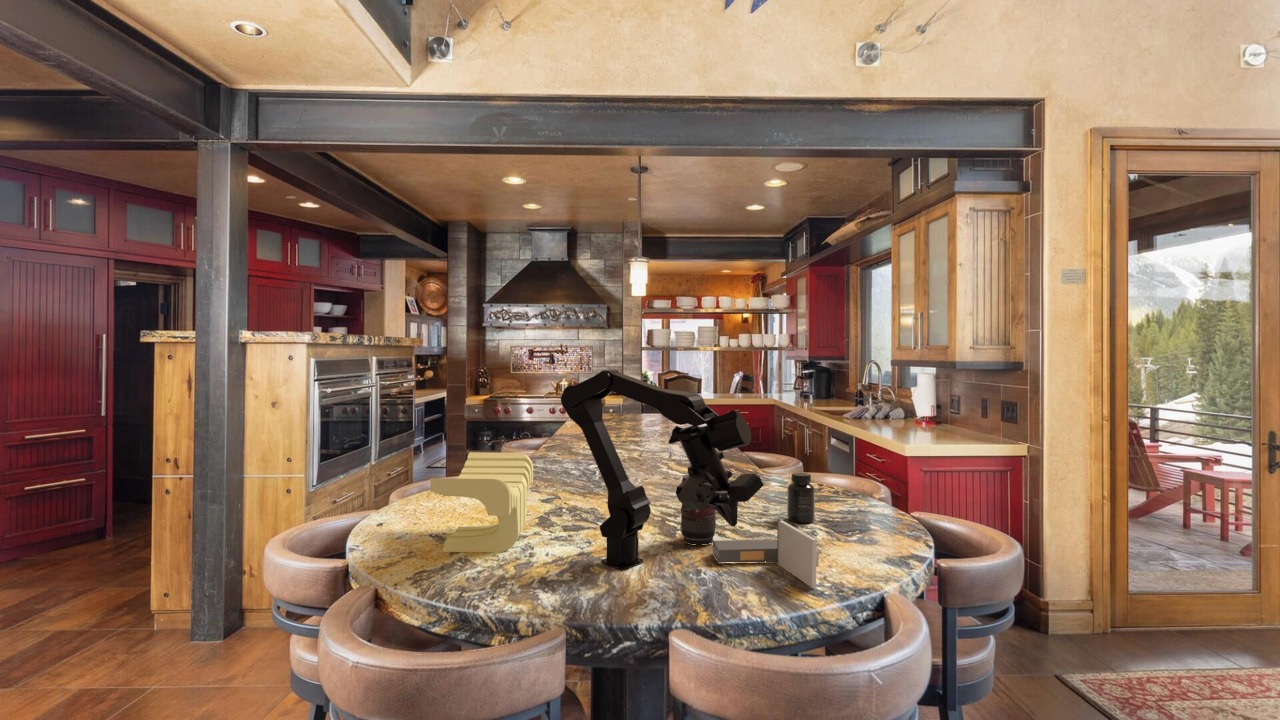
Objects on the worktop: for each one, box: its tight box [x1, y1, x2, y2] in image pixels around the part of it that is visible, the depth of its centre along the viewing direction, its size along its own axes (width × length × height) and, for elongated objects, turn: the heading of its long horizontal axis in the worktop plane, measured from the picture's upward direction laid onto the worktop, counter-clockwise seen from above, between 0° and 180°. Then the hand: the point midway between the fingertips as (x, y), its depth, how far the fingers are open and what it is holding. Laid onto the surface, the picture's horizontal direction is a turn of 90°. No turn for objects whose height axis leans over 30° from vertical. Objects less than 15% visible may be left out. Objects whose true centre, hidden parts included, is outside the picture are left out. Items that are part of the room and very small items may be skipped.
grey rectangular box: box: [712, 538, 777, 563], centre depth 133 cm, size 15×6×3 cm, turn 95°
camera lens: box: [680, 473, 717, 545], centre depth 144 cm, size 8×8×15 cm
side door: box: [776, 518, 820, 589], centre depth 124 cm, size 14×2×9 cm, turn 16°
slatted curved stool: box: [429, 451, 534, 553], centre depth 142 cm, size 30×16×18 cm, turn 1°
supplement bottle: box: [787, 472, 816, 524], centre depth 162 cm, size 7×7×12 cm
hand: (734, 525), depth 124 cm, fingers closed
